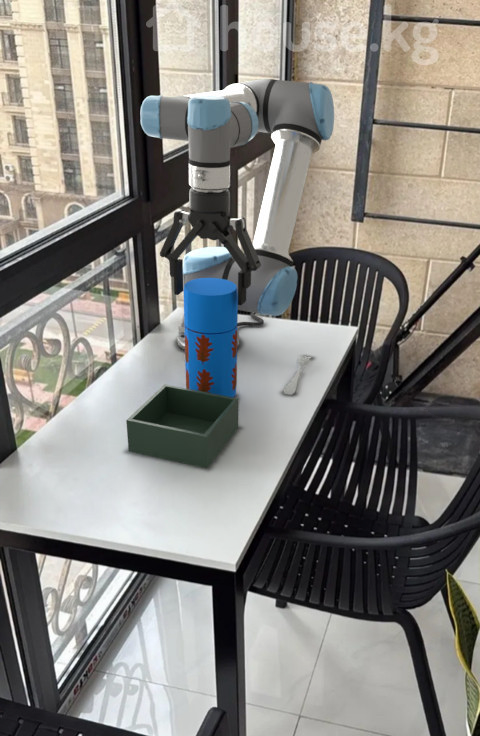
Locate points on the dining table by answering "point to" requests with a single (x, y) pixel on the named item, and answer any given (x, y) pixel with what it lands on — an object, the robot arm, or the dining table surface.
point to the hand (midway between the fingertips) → (210, 298)
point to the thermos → (211, 335)
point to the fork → (293, 383)
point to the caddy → (183, 425)
